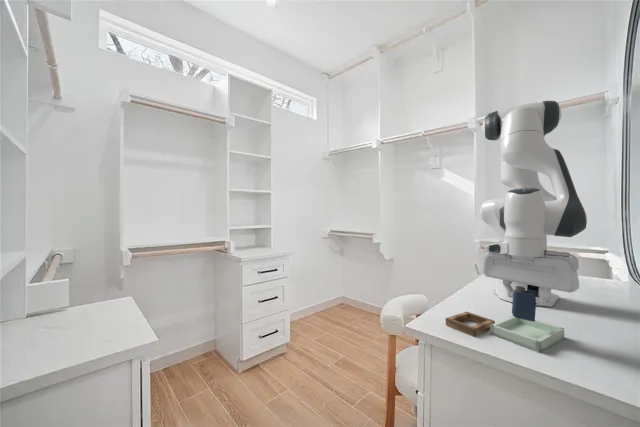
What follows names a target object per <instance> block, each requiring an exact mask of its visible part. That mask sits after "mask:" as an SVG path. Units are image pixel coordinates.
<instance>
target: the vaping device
mask: <svg viewBox="0 0 640 427" xmlns="http://www.w3.org/2000/svg"><path fill="white" fill-rule="evenodd" d="M536 296H539V287H538V286H533V285H527V291H525V288H524V287H521V286H516V289H515V291H514V292H513V302H511V303H512V304H511V314H512V316H514V317H516V318H520V319H524V320H528V321H533V322H535V320H536V312H537V311H536V310H537V305H536Z"/></svg>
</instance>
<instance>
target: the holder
mask: <svg viewBox="0 0 640 427" xmlns="http://www.w3.org/2000/svg"><path fill="white" fill-rule="evenodd" d="M467 321H470V322H472V323H475V324H474V325H469V324H467V323H463V322H467ZM495 321H496V320H493V319H491V318H487V317H485V316H481V315H478V314H475V313H472V312H469V311H464V312H461V313H457V314H455V315H451V316H449V317H445V326H446V325H447V326H446V327H449V328H452V329H453V330H457V331H459V332H461V333H464V334H467V335H469V336H470V337H471V336H472V337H476V336H478V335H481V334H485V332H488V331H490V325H492V324H494V323H496V322H495Z"/></svg>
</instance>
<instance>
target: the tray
mask: <svg viewBox="0 0 640 427" xmlns="http://www.w3.org/2000/svg"><path fill="white" fill-rule="evenodd" d="M489 331H490V335H492V336H494V337H497V338H499V339H502V340H505V341H508V342H510V343H513V344H515V345H518V346H521V347H524V348H526V349H527V350H532V351H534V352H537V353H538V354H539V353H542V352H543V351H546V350H547V349H548V348H550V347H551V346H552V347H553V346H554V345H555V344H557V343H559V342H560V341H562V340H565V327H560V326H556V325H555V324H554V325H553V324H549V323H545V322H543V321H540V320H536V319H535V322H533V321H528V320H524V319H520V318H516V317H514V316H513V315H512V316H510V317H509V316H508V317H507V318H504V319H502V320H499V321H497V322H495V323H494V324H492V325H490V330H489Z"/></svg>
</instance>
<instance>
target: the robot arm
mask: <svg viewBox="0 0 640 427" xmlns="http://www.w3.org/2000/svg"><path fill="white" fill-rule="evenodd" d="M559 104H560V103H558V102H557V101H556V100H543V101H541V102H533V103H524V104H520V105H518V106H512V107H508V108H505V109H502V110H495V111H493V112H489V113H488V114H487V115H486V116H485V117H484V120H483V121H482V126H481V129H482V133H483V136H484V138H485V139H487V140H488V141H498V140H500V141H499V148H500V160H499V161H500V166H499V167H500V168H499V169H500V171H499V172H500V176H499V177H500V182H501V183H502V184H503V185H505V186H506V187H508V188H512V189H510V190H508V191H506V194H505V197H495V198H492V199H487V200H485V201H483V203H481V205H480V208H479V216H480V218H481V220H482V221H483V222H484V223H485V224H487V225H489V226H490V227H491V228H492V229H493V230H494V231H495V233H496V235H497V236H498V239H499V241H498V242H495V243H490V244H486V245H485V246H484V250H485V252H486V253H485V254H484V255H483V260H482V273H483V275H484V276H485V277H486V278H491V279H492V278H493V279H496V289H495V290H493V292H492V293H493V294H494V295H496V297H497V298H499V299H501V300H504V301H507V302H510V303H513V292H514V291H515V289H516V286H521V287H524V288H525V291H527V285H533V286H538V287H539V296H536V306H538V307H539V306H540V307H550V308H552V307H554V305H555V304H556V303H557V301H558V300H559V298H560V297H559V295H558V294H556V293H552V290H554V291H559V292H564V293H574V292H576V291H578V290H579V289H580V281H579V275H578V270H579V266H580V265H579V259H578V258H577V256H575V255H573V254H571V253H570V252H567V251H555V250H548V241H547V239H548V237H547V236H554V237H562V238H563V237H564V238H573V237H574V236H577V235H578V234H580V233H582V232H583V231H585V230H586V229H587V225H588V224H587V223H588V215H587V212H586V209H585V208H584V206H583V204H582V202H581V200H580V198H579V195H578V193H577V191H576V190H577V189H576V187H575V184H574V182H573V180H572V176H571V173H570V171H569V168H568V165H567V163H566V161H565V158H564V156H563V154H562V152H561V151H560V150H559V149H556V148H552V146H550V145H549V144H548V143H547V142H546V140H545V136H547V135H548V134H550V133H551V132H553V131H554V130H555V129H557V127H558V126H559V124H560V122H561V118H562V109H561V107H560V105H559ZM539 173H541V174H543V175H545V176H547V177H548V178H549V181H550V183H551V186H552V189H553V192H554V193H553V194H554V195H553V194H552V193H550V192H549V191H547V190H546V189H545V187H543V185H542V183H541V182H540V179H539Z"/></svg>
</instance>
